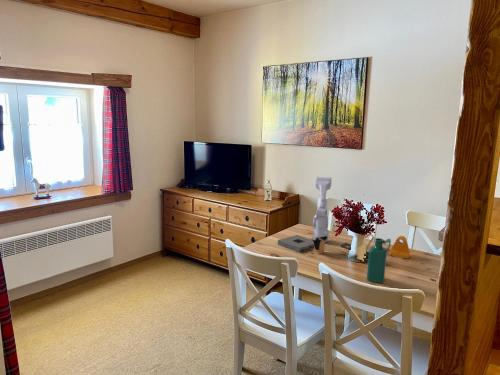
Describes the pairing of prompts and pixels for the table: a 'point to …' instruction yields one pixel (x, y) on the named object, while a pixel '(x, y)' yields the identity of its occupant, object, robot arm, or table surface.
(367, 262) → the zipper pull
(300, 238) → the collar
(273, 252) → the table surface
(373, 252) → the pitcher
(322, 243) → the tan square post
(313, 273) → the table surface
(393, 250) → the orange handbag
